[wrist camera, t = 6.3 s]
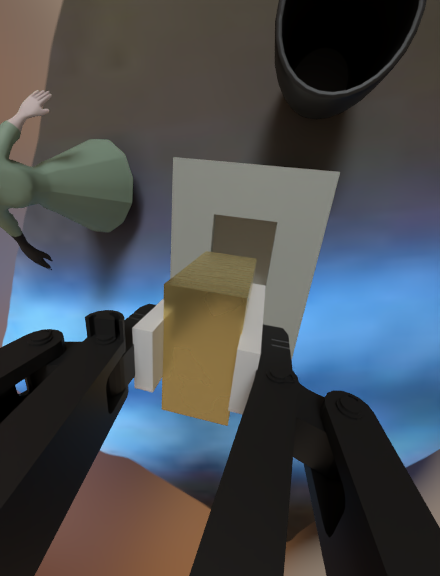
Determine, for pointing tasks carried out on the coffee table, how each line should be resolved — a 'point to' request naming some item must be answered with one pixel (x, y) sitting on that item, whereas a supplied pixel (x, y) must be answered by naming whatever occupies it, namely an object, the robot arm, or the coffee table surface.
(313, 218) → the box
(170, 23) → the coffee table surface
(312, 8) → the mug
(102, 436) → the robot arm
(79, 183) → the character figurine
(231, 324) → the tall tan block
